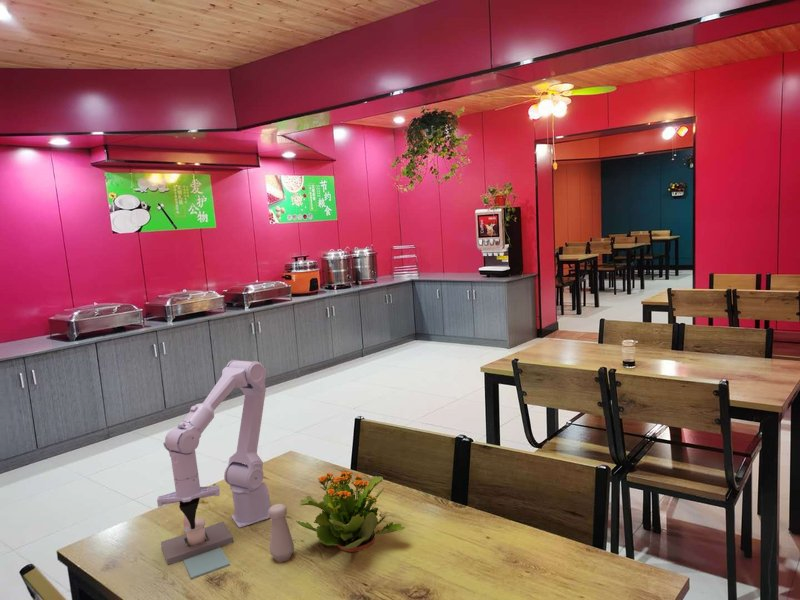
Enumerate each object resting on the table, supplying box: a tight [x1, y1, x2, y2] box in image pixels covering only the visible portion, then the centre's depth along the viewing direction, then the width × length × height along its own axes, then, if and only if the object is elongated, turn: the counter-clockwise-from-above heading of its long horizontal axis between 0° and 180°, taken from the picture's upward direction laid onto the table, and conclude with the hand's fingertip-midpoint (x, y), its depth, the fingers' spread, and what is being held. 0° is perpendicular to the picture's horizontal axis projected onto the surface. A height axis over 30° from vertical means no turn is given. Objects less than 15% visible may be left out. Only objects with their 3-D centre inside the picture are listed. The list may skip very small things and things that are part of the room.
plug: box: [185, 517, 207, 547], centre depth 148 cm, size 5×5×6 cm
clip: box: [183, 513, 191, 533], centre depth 149 cm, size 14×2×1 cm, turn 19°
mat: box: [183, 547, 231, 580], centre depth 140 cm, size 9×9×1 cm
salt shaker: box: [269, 503, 295, 563], centre depth 139 cm, size 6×6×13 cm
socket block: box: [160, 521, 234, 566], centre depth 148 cm, size 16×10×2 cm, turn 121°
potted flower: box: [295, 471, 406, 553], centre depth 142 cm, size 25×24×18 cm
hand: (193, 527), depth 145 cm, fingers closed
